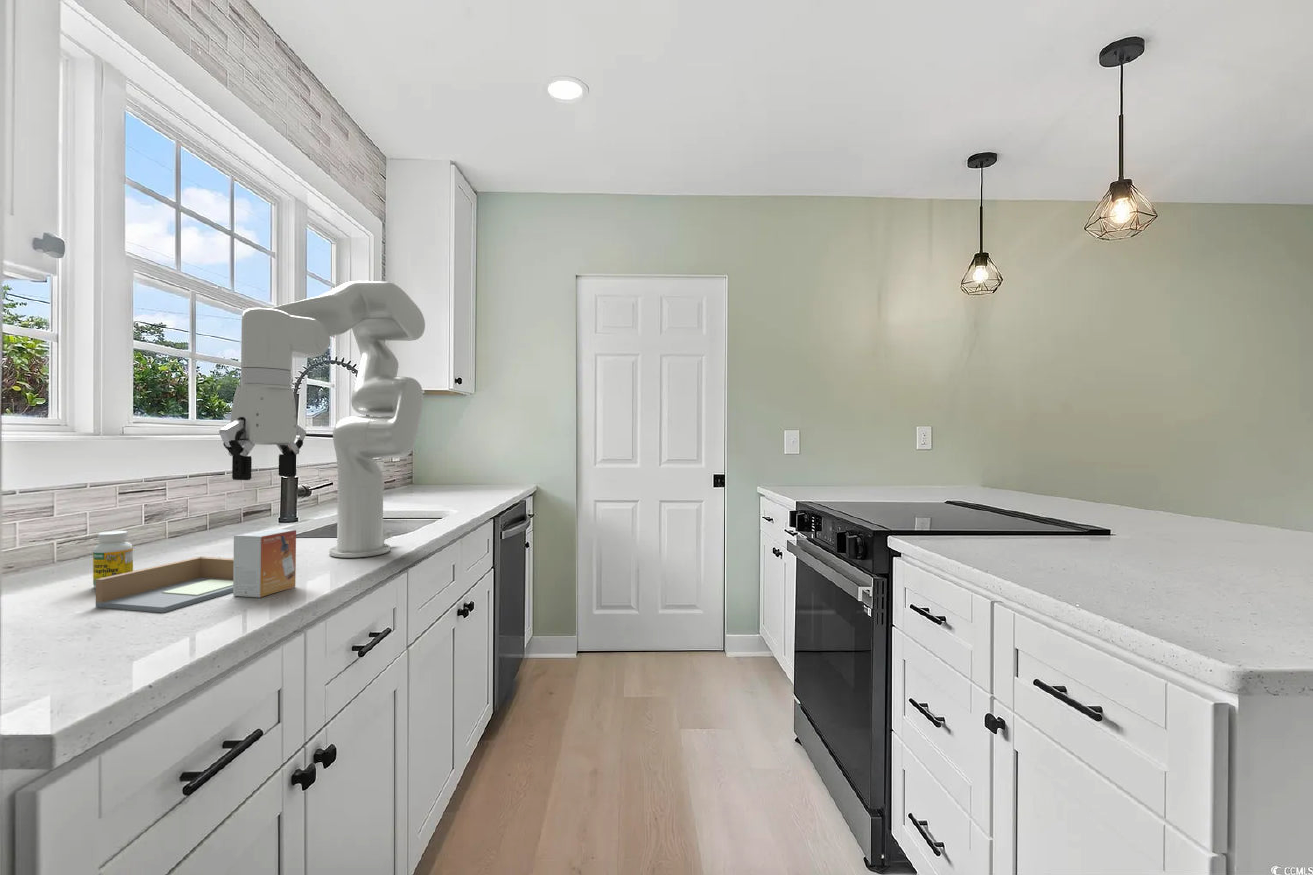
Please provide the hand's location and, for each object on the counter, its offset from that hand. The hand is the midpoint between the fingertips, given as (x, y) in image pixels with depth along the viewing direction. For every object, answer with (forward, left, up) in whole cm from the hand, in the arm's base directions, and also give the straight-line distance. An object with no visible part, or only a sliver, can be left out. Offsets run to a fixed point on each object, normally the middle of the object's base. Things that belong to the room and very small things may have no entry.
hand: (265, 477), depth 106 cm
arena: (+5, -12, -20) cm, 24 cm away
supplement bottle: (+3, -29, -20) cm, 35 cm away
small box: (0, 0, -20) cm, 20 cm away
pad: (+3, -10, -20) cm, 22 cm away
